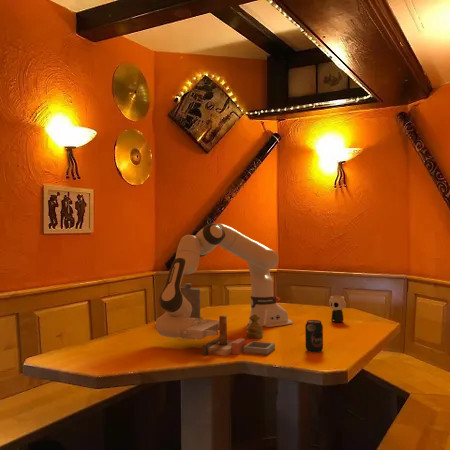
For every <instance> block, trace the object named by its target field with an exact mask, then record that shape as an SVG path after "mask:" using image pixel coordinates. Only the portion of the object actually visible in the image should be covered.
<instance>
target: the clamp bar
mask: <svg viewBox="0 0 450 450" xmlns="http://www.w3.org/2000/svg"><path fill="white" fill-rule="evenodd" d="M218 342H220V336H219V337H217V338H214V339H212V340H210V341H209V342H207V343H205V344H203V345H202V346H201V347H202V349H201V350H202V356H207V355H209V354H208V348H209V347H211V346H212V345H214V344H216V343H218Z"/></svg>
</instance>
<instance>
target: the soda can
mask: <svg viewBox="0 0 450 450" xmlns="http://www.w3.org/2000/svg"><path fill="white" fill-rule="evenodd" d="M323 326H324V325H323V324H322V321H321V320H319V319H308V320H306V323H305V326H304V327H305V328H304V329H305V332H304V334H305V337H304V338H305V349H306V351H307V352H309V353H316V354H319V353H321V352H322V351H323V349H324V327H323Z"/></svg>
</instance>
